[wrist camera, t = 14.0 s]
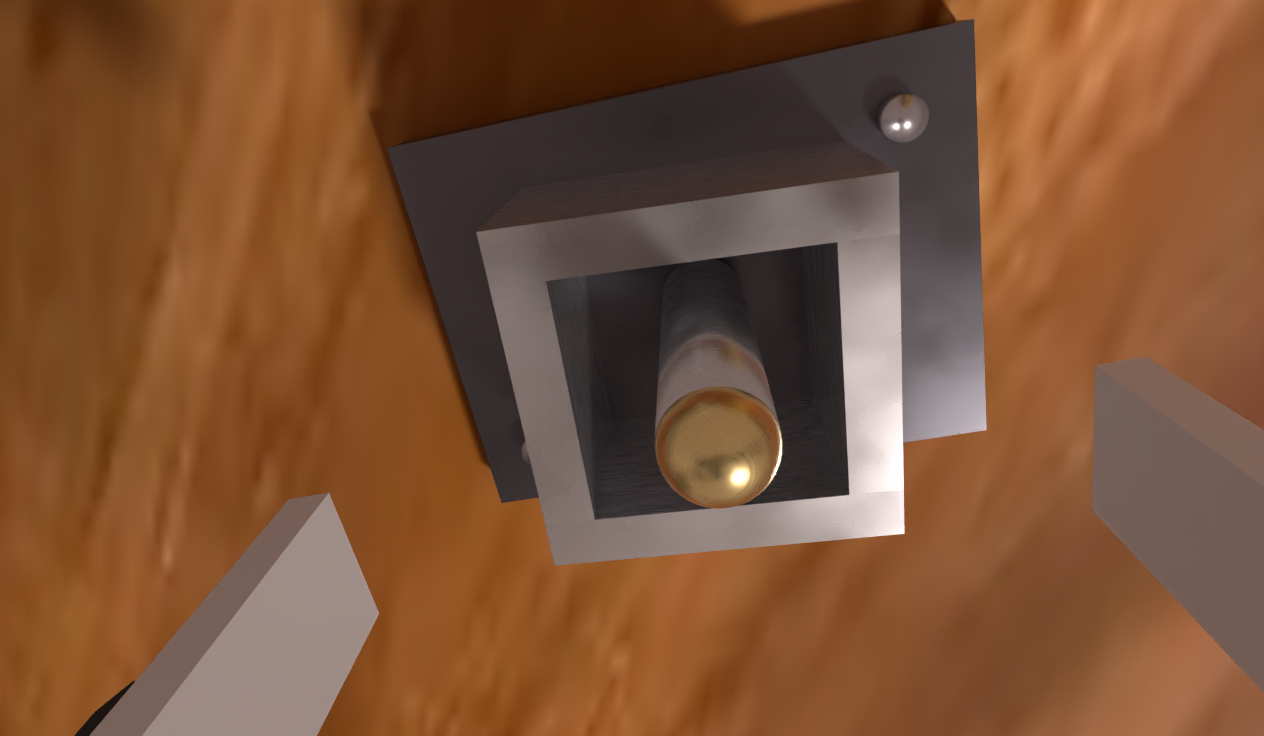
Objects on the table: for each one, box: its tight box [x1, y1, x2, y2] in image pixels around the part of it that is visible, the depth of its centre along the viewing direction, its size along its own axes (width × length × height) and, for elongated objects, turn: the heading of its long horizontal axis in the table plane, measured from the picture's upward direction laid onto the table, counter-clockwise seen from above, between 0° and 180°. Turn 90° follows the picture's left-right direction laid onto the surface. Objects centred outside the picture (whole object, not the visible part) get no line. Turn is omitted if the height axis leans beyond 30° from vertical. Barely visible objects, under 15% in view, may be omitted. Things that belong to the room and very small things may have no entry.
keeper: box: [387, 19, 986, 508], centre depth 18 cm, size 16×12×11 cm
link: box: [476, 140, 904, 565], centre depth 20 cm, size 9×9×6 cm
